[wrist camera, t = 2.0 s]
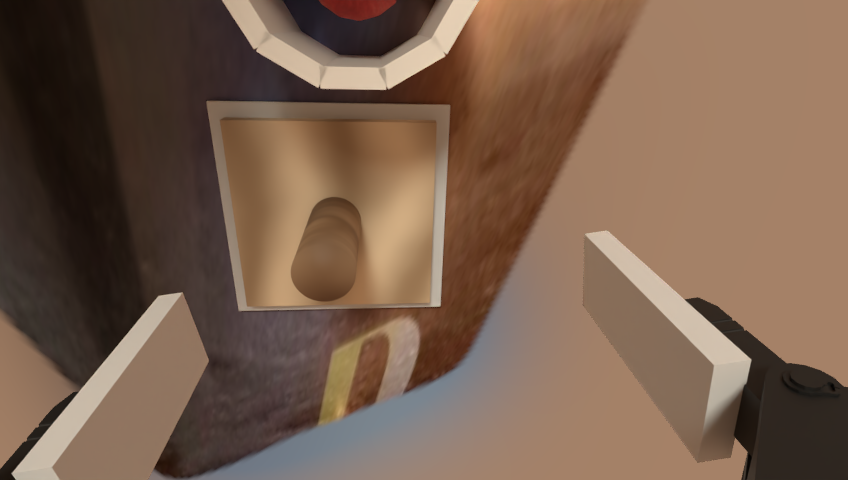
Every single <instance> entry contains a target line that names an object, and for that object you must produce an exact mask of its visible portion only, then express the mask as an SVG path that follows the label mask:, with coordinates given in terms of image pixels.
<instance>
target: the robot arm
mask: <svg viewBox="0 0 848 480" xmlns="http://www.w3.org/2000/svg"><path fill="white" fill-rule="evenodd" d="M583 276H584V277H583V306H584V307H585V309H586V310H587V312H588V313H589V314H590V316H591V317H592V318H593V320H594V321H595V323H596V324H597V325H598V327H599V328H600V329H601V331H602V332H603V334H604V335H605V336H606V338H607V339H608V340H609V342H610V343H611V345H612V346H613V347H614V349H615V350H616V351H617V353H618V354H619V356H620V357H621V358H622V359H623V361H624V362H625V364H626V365H627V366H628V368H629V369H630V371H631V372H632V373H633V375H634V376H635V377H636V379H637V380H638V382H639V383H640V384H641V386H642V387H643V388H644V390H645V391H646V393H647V394H648V395H649V397H650V398H651V399H652V401H653V402H654V404H655V405H656V406H657V408H658V409H659V410H660V412H661V413H662V414H663V416H664V417H665V419H666V420H667V421H668V423H669V424H670V425H671V427H672V428H673V430H674V431H675V432H676V434H677V435H678V436H679V438H680V439H681V441H682V442H683V443H684V445H685V446H686V447H687V449H688V450H689V451H690V453H691V454H692V456H693V457H694V458H695V460H696V461H697V462H698V463H699V462H705V461H711V460H717V459H724V458H730V457H731V454H732V448H733V444H734V440H735V438H736V439H737V440H738V441H739V442H740V443H741V445H742V446H743V447H744V448H745V449H746V450H747V452H748V453H747V458H746V462H745V466H744V471H743V475H742V480H848V387H844V386H842V385H841V384H840V383H839V382H838V381H837V380H836V379H834V378H833V377H831V376H830V375H828V374H826V373H824V372H822V371H820V370H817V369H815V368H812V367H808V366H805V365H799V364H792V363H788V364H787V363H785V362H784V361H783V360H782V359H781V358H779V357H778V356H777V355H776V354H775V353H773V352H772V351H771V350H770V349H768V348H767V347H766V346H765V345H764V344H762V343H761V342H760V341H759V340H758V339H756V338H755V337H754V336H753V335H752V334H750V333H749V332H748V331H747V330H746V331H744V329H743V327H742V326H741V325H739V324H738V323H737V322H736V321H733V320H732V318H731V317H730V316H729V315H727V314H726V313H725V312H724V311H723V310H721V309H720V308H719V307H718V306H716V305H713V304H711V303H709V302H707V301H705V300H703V299H700V298H691V299H683V298H682V297H681V296H680V295H679V294H678V293H676V292H675V291H674V290H673V289H672V288H671V287H670V286H669V285H667V284H666V283H665V282H664V281H663V280H662V279H661V278H660V277H659V276H657V275H656V274H655V273H654V272H653V271H652V270H651V269H649V267H647V266H646V265H645V264H644V263H643V262H642V261H641V260H639V259H638V258H637V257H636V256H635V255H634V254H633V253H632V252H631V251H629V250H628V249H627V248H626V247H625V246H624V245H623V244H622V243H621V242H619V241H618V240H617V239H616V238H615V237H614V236H613V235H612V234H611V233H609V232H608V231H602V232H595V233H588V234H584V275H583ZM208 362H209V359H208V357H207V354H206V352H205V349H204V346H203V344H202V341H201V339H200V336H199V333H198V331H197V328H196V326H195V323H194V320H193V318H192V315H191V313H190V310H189V308H188V305H187V302H186V300H185V297H184V295H183V292H182V293H175V294H168V295H161V296H158V297H157V298H156V300H155V301H154V302H153V303H152V304H151V306H150V307H149V308H148V309H147V310H146V312H145V313H144V314H143V315H142V317H141V318H140V319H139V320H138V321H137V323H136V324H135V325H134V326H133V327H132V329H131V330H130V331H129V332H128V333H127V335H126V336H125V337H124V338H123V339H122V341H121V342H120V343H119V344H118V346H117V347H116V348H115V349H114V350H113V352H112V353H111V354H110V355H109V356H108V358H107V359H106V360H105V361H104V362H103V364H102V365H101V366H100V367H99V368H98V370H97V371H96V372H95V373H94V375H93V376H92V377H91V378H90V379H89V381H88V382H87V383H86V384H85V385H84V387H83V388H82V389H81V390H80V391H79V392H73V393H72V394H71V395H69V396H68V397H67V398H65V399H64V400H63V401H62V402H60V403H59V404H58V405H56V406H55V407H54V408H53V409H52V410H51V411H50V412H49V413H48V414H47V415H46V417H45V418H44V419H43V420H42V421H41V423H40V424H39V427H38V428H35V429H34V431H33V432H32V433H31V434H30V435H29V436H28V438H27V441H26V442H24V443H22V445H21V446H20V447H19V448H18V449H17V450H16V451H15V453H14V454H13V455H12V456H11V457H10V458H9V460H8V461H7V462H6V463H5V464H4V465H3V467H2V468H1V469H0V480H148V479H149V477H150V475H151V473H152V471H153V469H154V467H155V465H156V463H157V461H158V459H159V457H160V455H161V453H162V451H163V449H164V448H165V446H166V444H167V442H168V440H169V438H170V436H171V434H172V432H173V430H174V428H175V426H176V424H177V422H178V420H179V418H180V416H181V415H182V413H183V411H184V409H185V407H186V405H187V403H188V401H189V399H190V397H191V395H192V393H193V391H194V389H195V387H196V385H197V383H198V381H199V380H200V378H201V376H202V374H203V372H204V370H205V368H206V366H207V364H208Z"/></svg>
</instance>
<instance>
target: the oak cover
mask: <svg viewBox="0 0 848 480" xmlns="http://www.w3.org/2000/svg"><path fill="white" fill-rule="evenodd" d="M220 126H221V132H222V139H223V146H224V153H225V160H226V166H227V173H228V180H229V187H230V194H231V201H232V207H233V214H234V221H235V228H236V235H237V242H238V248H239V255H240V262H241V269H242V276H243V283H244V289H245V296H246V303H247V307H255V306H302V305H350V304H397V303H430V286H431V260H432V234H433V208H434V182H435V156H436V130H437V122H436V121H435V120H388V119H313V118H238V117H224V118H222V119H221V120H220Z"/></svg>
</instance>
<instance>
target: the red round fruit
mask: <svg viewBox="0 0 848 480" xmlns="http://www.w3.org/2000/svg"><path fill="white" fill-rule="evenodd" d="M319 1H320V3H321V4H322V5H323V6H325V7H326V8H328V9H329V10H330V11H332V12H333V13H335V14H336V15H337V16H339V17H342V18H347V19H352V20H357V21H361V20H365V19H369V18H373V17H377V16H379V15H381V14H382V13H383V12H385V11H386V10H387V9H389V8H390V7H391V6H393V5H394V4H395V3H396V1H397V0H319Z"/></svg>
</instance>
